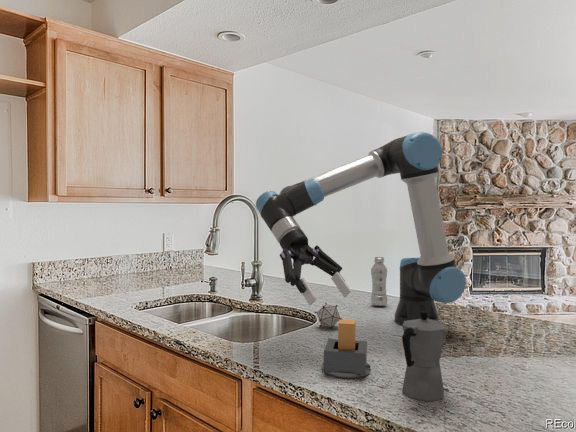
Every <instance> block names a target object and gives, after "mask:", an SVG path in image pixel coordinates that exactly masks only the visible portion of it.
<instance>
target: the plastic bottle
mask: <svg viewBox="0 0 576 432" xmlns="http://www.w3.org/2000/svg"><path fill="white" fill-rule="evenodd" d="M373 262H374V264H373V265H372V267H371V268H370V273H371V274H370V275H371V282H372V284H371V285H372V286H371V287H372V288H371V296H370V304H372V305H371V306H374V307H378V308H379V307H386V306H387V304H388V295H387V288H386V287H387V277H388V276H387V275H388V268H387V267H386V265H385V264H384V263H385V257H383V256H375V257H374V261H373Z"/></svg>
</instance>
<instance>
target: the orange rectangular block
mask: <svg viewBox="0 0 576 432" xmlns="http://www.w3.org/2000/svg"><path fill="white" fill-rule="evenodd" d="M356 321H357V320H355V319H343V318H342V319H340V320H339V321H338V322H337V323H338V325H337V329H338V331H337V332H338V334H337V339H338V349H343V350H355V340H356Z"/></svg>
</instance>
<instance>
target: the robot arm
mask: <svg viewBox="0 0 576 432" xmlns="http://www.w3.org/2000/svg"><path fill="white" fill-rule="evenodd" d="M442 158H443V148H442V144H441V143H440V140H438V138H437V137H435V136H434V135H433V134H431V133H429V132H425V131H420V132H413V133H411V134H408V135H405V136H401V137H398V138H395V139H393V140H390V141H389V142H387V143H385V144H384V145H382V146H380V147H378V148H376V149H373V150H371V151H369V152H368V154H367V155H366V156H364V157H361V158H358V159H356V160H353V161H351V162H348V163H346V164H343V165H341V166H338V167H336V168H333V169H331V170H328V171H324V172H322V173H320V174H318V175H316V176H313V177H310V178H307V179H305V180H302V181H300V182H298V183H295V184H293V185H287V186H285V187H283V188H282V189H281V190H280V191H279V193H277V192H276V191H274V190H270V191H265V192H263V193H262V194H260V195H259V196H258V197H257V199H256V201H255V208H256V210H257V211H258V213H259V215H260V218H261V219H262V220H263V221H264V223H265V224H266V226H267V227H268V229H269V230H270V232H271V233H272V234H273V236H274V237H275V239H276V241H277V243H278V244H279V245H280V247H281V249H282V251H281V252H280V254H279V258H280V259H281V260H282V267H283V273H284V274H283V275H284V280H285V282H286V283H287V284H290V285H291V287H294V286H295V287H296V288H297V290H298V292H299V293H300V294H301V295H302V296H303V297H304V298H303V299H305V302H307V304H308V306H312V305H313V304H314V303H315V301H316V300H318V299H317V295H316V294H315V293H314V292H313V290H312V288H311V286H310V285H309V283H308V282H307V281H306V279H305V277H301V275H302V266H304V265H310V266H315V267H317V268H318V269H320V270H321V271H323V272H324V273H326V274H327V275H329V276H330V277H331V278H330V280H331V281H332V282H333V283H334V285H335V286H336V288H337V289H338V291H339V292H340V293H341V295H342V296H343V298H346V297H347V296H348V295H349V294H350V293H351V292H352V289H351V288H350V287H349V285H348V284H347V282H346V280H345V279H344V277H343V276H342V275H341V273H340V272H341V271H342V270H343V267H342V266H341V265H340V264H339V263H338V262H336V261H335V260H333V259H332V257H330V256H329V255H328V254H326V253H325V252H324V251H323V249H321V247H320V246H319V245H315V246H314V247H311V246H310V245H309V238H308V236H307V235H306V233H305V232H304V231H303V229H301V226H300V225H299V223H298V222H297V221H296V219H295V218H294V217H296V215H299V214H301V213H302V212H304V211H306V210H308V209H311V208H312V207H314V206H317V205H318V204H320V203H321V202H323V201H324V200H325V198H326V197H328V196H330V195H333V194H336V193H338V192H341V191H343V190H346V189H349V188H350V187H353V186H356V185H358V184H361V183H363V182H365V181H368V180H371V179H373V178H378V179H381V178H384V177H386V176H389V175H390V176H391V175H396V174H399V175H400V180H401V181H402V182H404V183H405V184H406V186H407V190H408V191H407V192H408V196H409V203H410V207H411V212H412V213H411V214H412V217H413V222H414V229H415V233H416V239H417V244H418V249H419V250H418V251H419V254H420V257H404V258H402V259H400V265H399V301H398V304H397V307H396V310H395V312H394V322H395V323H396V324H397V325H398V324H399V325H401V326H403V323H404V321H408V320H416V319H421V313H420V312H421V311H426V312H428V314H427V319H428V318H429V319H432V320H435V321H440V317H439V313H438V309H437V307H436V306H437V305H436V304H435V302H437V303H444V304H450V303H453V302H456V301H457V300H458V299H460V298H461V297H462V294H463V293H464V292H465V289H466V285H467V280H466V275H465V274H464V272H463V271H462V270H461V269H460V268H459V267H457V265H456V259H455V256H454V255H453V254H451V253H449V249H448V243H447V237H446V232H445V227H444V221H443V216H442V211H441V205H440V200H439V194H438V189H437V183H436V178H437V176H438V175H439V172H440V171H439V167H438V166H439V164H440V163H441V160H442Z"/></svg>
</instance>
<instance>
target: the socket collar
mask: <svg viewBox="0 0 576 432" xmlns="http://www.w3.org/2000/svg"><path fill="white" fill-rule="evenodd" d="M321 370H322V372H323V373H324V374H326V375H328V376H329V377H332V378H336V379H341V378H342V380H356V379H362V378H366V377H367V376H369V375H370V374H371V365H370V363H368V341H367V340H356V339H355V350H343V349H338V338H327V341H326V345H325V346H324V349H323V362H322V363H321Z"/></svg>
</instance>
